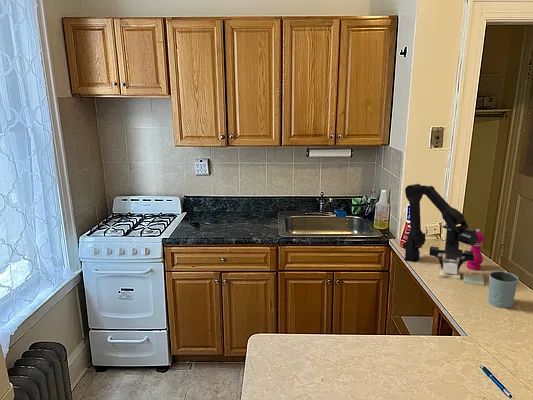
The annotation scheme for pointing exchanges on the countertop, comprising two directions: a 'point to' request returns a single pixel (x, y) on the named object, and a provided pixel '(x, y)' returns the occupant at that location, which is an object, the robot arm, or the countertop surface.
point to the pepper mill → (476, 253)
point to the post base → (449, 275)
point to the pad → (473, 279)
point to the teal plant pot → (502, 289)
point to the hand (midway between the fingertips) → (449, 270)
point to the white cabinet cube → (450, 266)
